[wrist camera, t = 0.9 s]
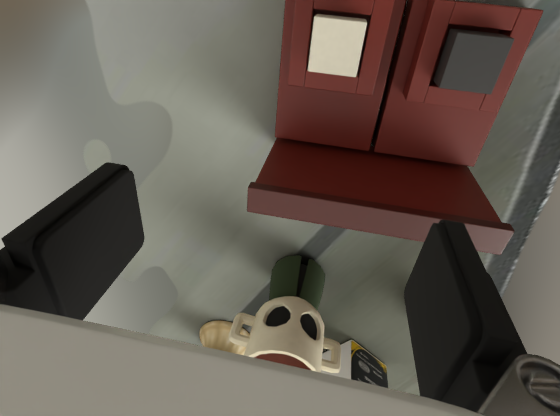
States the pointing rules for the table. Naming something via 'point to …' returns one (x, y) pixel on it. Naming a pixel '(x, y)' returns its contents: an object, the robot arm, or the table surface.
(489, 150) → the table surface
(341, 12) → the red white-inset block
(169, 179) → the table surface
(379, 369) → the medicine bottle
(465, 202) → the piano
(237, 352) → the hand bell
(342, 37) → the ivory key
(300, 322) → the character mug
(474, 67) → the ebony key
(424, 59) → the red grey-inset block
